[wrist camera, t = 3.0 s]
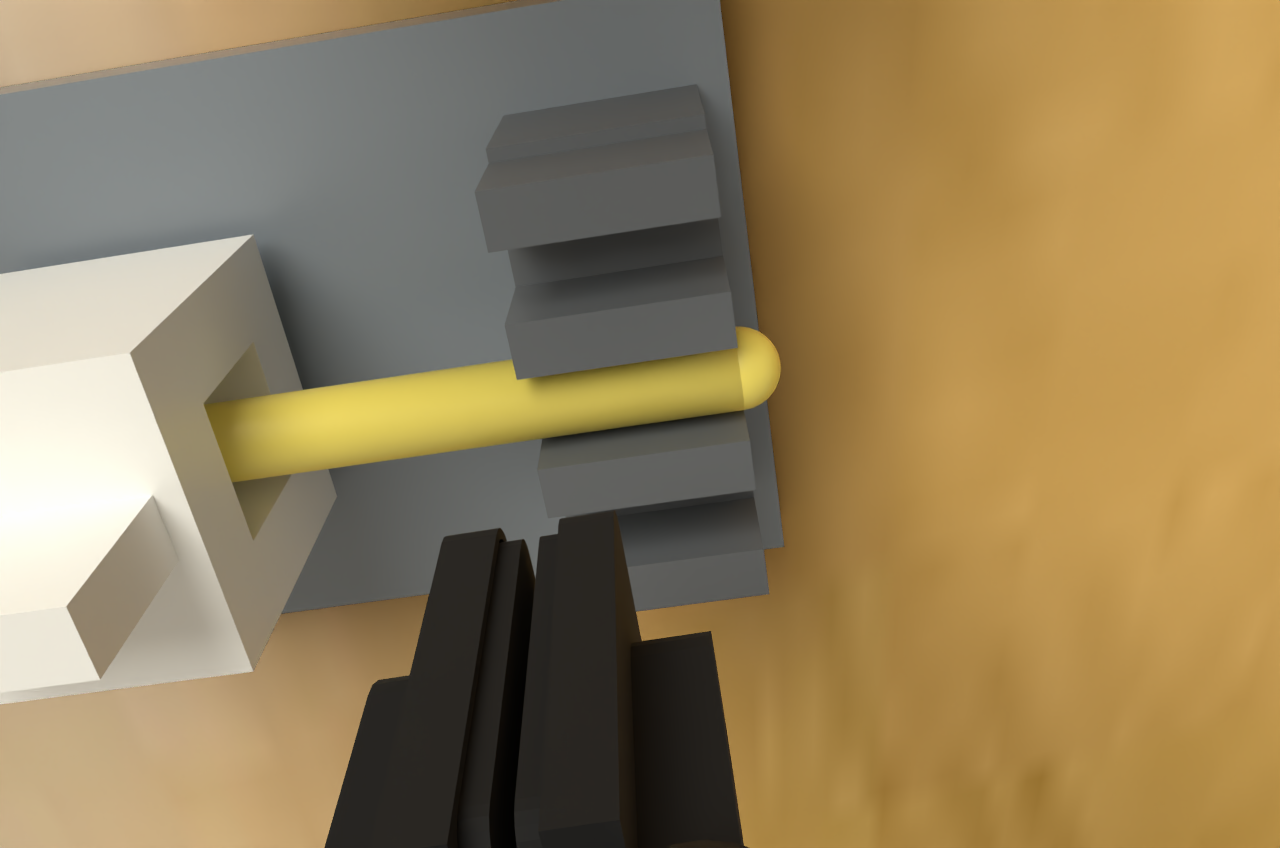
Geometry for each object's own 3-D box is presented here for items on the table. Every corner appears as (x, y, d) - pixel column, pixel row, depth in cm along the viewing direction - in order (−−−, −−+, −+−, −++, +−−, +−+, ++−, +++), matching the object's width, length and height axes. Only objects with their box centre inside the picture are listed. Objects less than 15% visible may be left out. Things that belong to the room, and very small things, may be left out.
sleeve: (253, 234, 18) (32, 446, 11) (337, 496, 20) (191, 801, 13) (-13, 275, 18) (-378, 506, 11) (97, 529, 20) (-159, 844, 14)
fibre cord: (771, 308, 16) (781, 339, 15) (780, 383, 17) (789, 419, 16) (-666, 520, 18) (-750, 562, 17) (-618, 582, 18) (-695, 627, 17)
